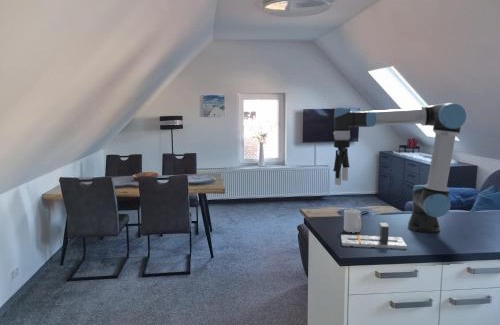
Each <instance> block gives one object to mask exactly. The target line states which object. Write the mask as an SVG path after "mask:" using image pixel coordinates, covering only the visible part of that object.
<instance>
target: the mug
mask: <svg viewBox="0 0 500 325" xmlns="http://www.w3.org/2000/svg"><path fill="white" fill-rule="evenodd" d="M361 217H362V212H361V210H359V209H351V208H350V209H349V208H348V209H344V211H343V231H344V232H346V233H350V232H352V234H356V233H355V232H357V233H360V232H361V228H362V224H363V223H362V218H361Z"/></svg>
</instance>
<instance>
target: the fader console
mask: <svg viewBox="0 0 500 325" xmlns="http://www.w3.org/2000/svg"><path fill="white" fill-rule="evenodd" d="M340 241H341V242H340V243H341V246H342V247H350V246H353V247H354V248H357V247H358V248H371V247H375V248H374V249H391V248H392V250H394V249H396V250H407V249H408V245H407V244H406V243H405V240H404V239H403V238H402V237H401V236H399V237H398V236H388V242H384V241H381V240H380V238H379V236H378V235H359V234H354V235H353V234H340ZM353 247H352V248H353Z"/></svg>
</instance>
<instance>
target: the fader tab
mask: <svg viewBox="0 0 500 325" xmlns="http://www.w3.org/2000/svg"><path fill="white" fill-rule="evenodd" d="M389 228H390V226H389V224H388V223H387V222H379V238H380V240H381V241H384V242H388V237H389Z"/></svg>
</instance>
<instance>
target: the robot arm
mask: <svg viewBox="0 0 500 325" xmlns="http://www.w3.org/2000/svg"><path fill="white" fill-rule="evenodd" d="M333 116H334V117H333V129H334V131H333V133H332V135H333V139H334V140H333V147H334V148H336V150H335V157H334V158H335V160H334V166H333V170H332V171H333V172H334V175H335V176H334V185H335V186H336V185H337V186H341V185H342V181H345V182H347V181H348V180H349V176H348V175H349V174H348V172H349V171H348V170H349V169H348V168H350V162H349V155H348V154H349V153H348V150H349V149H350V147H351V141H350V139H351V128H369V127H370V128H372V127H375V126H393V125H417V124H418V125H419V124H420V125H421V126H429V127H430V126H433V127H432V128H433V129H432V131H433V133H435V136H434V143H433V148H432V153H431V158H430V159H431V160H430V166H429V171H428V177H427V183H426V184H415V185H414V186H413V188H412V206H411V207H412V209H411V210H412V212H411V215H410V218H409V221H408V223H407V228H408V229H409V230H411V231H414V232H419V233H426V234H427V233H437V232H439V231H440V229H441V228H440V223H439V219H438V218H441V217H444V216H445V215H447V214H448V212H450V210H451V201H450V198H449V195H450V188H448V181H449V175H450V170H451V164H452V159H453V152H454V147H455V143H456V142H455V141H456V137H457V136H458V135H459V134H461V129H462V126H463V125H464V124H465V122H466V120H467V111H466V109H465V108H464V107H463V106H462V105H461V104H459V103H456V102H445V103H444V102H442V103H441V102H440V103H437V104H433V105H423V106H421V107H420V108H403V109H399V108H398V109H382V110H380V109H379V110H357V111H353V110H352V111H351V108H350V107H346V106H345V107H343V106H342V107H336V108H335V109H334V115H333ZM348 148H349V149H348Z"/></svg>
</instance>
